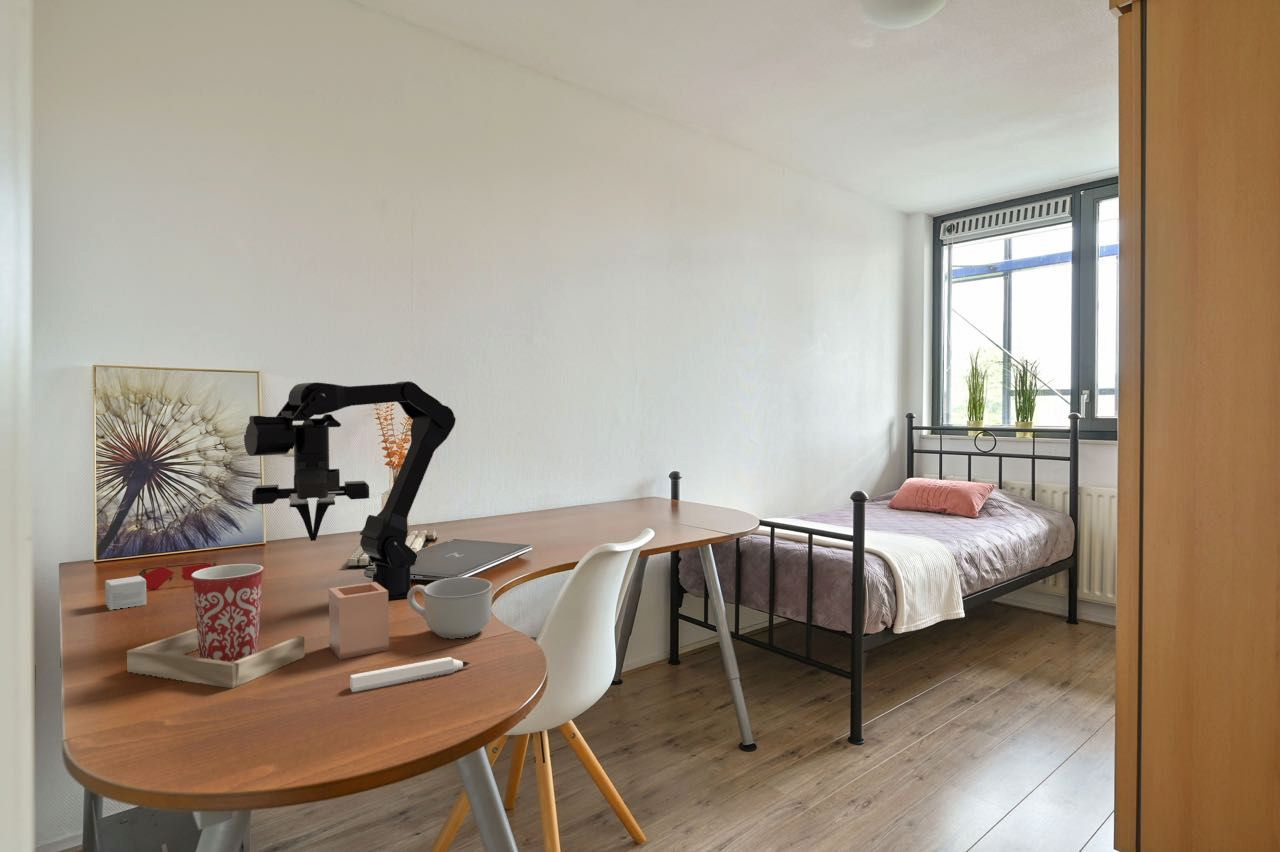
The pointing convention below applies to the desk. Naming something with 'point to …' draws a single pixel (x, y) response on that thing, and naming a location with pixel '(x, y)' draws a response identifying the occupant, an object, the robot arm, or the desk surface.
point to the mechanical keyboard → (413, 541)
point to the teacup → (454, 605)
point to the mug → (228, 610)
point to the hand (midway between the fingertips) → (313, 540)
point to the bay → (208, 661)
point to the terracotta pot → (358, 619)
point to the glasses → (169, 574)
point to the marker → (404, 673)
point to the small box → (125, 592)
